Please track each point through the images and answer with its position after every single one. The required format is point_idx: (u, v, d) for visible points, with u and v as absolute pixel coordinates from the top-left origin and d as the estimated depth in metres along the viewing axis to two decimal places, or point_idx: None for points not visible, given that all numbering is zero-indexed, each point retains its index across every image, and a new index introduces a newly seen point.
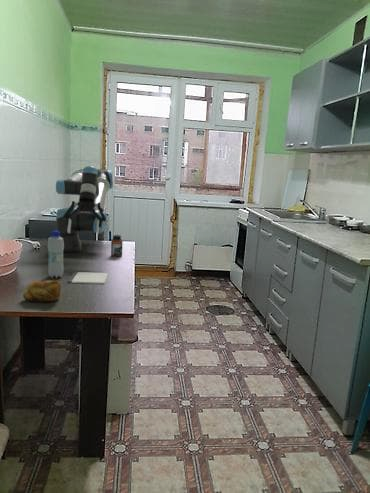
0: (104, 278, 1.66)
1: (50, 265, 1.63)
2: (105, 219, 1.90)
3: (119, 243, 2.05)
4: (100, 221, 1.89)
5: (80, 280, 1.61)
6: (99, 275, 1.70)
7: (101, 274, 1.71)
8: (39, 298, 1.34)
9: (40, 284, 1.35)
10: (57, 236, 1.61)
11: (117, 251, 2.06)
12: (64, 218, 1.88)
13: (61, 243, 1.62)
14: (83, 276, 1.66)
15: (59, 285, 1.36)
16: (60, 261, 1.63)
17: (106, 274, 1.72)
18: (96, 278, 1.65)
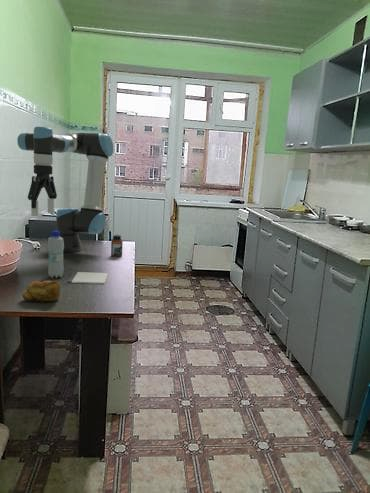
0: (104, 278, 1.66)
1: (50, 265, 1.63)
2: (30, 198, 1.57)
3: (119, 243, 2.05)
4: None
5: (80, 280, 1.61)
6: (99, 275, 1.70)
7: (101, 274, 1.71)
8: (38, 298, 1.34)
9: (39, 284, 1.35)
10: (57, 236, 1.61)
11: (117, 251, 2.06)
12: None
13: (61, 243, 1.62)
14: (83, 276, 1.66)
15: (58, 285, 1.36)
16: (60, 261, 1.63)
17: (106, 274, 1.72)
18: (96, 278, 1.65)
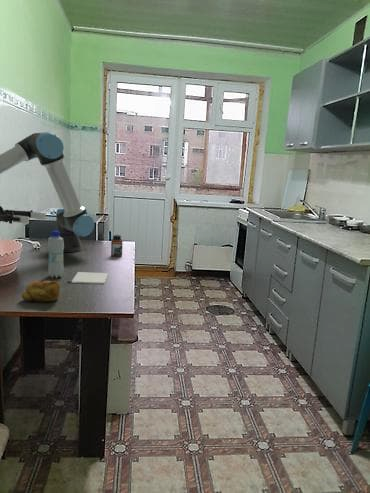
0: (104, 278, 1.66)
1: (50, 265, 1.63)
2: (6, 219, 1.54)
3: (119, 243, 2.05)
4: (13, 220, 1.56)
5: (80, 280, 1.61)
6: (99, 275, 1.70)
7: (101, 274, 1.71)
8: (37, 298, 1.34)
9: (39, 284, 1.35)
10: (57, 236, 1.61)
11: (117, 251, 2.06)
12: None
13: (61, 243, 1.62)
14: (83, 276, 1.66)
15: (58, 285, 1.36)
16: (60, 261, 1.63)
17: (106, 274, 1.72)
18: (96, 278, 1.65)
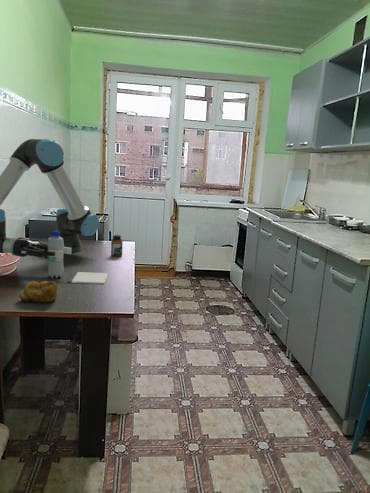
0: (104, 278, 1.66)
1: (50, 265, 1.63)
2: (41, 254, 1.58)
3: (119, 243, 2.05)
4: None
5: (80, 280, 1.61)
6: (99, 275, 1.70)
7: (101, 274, 1.71)
8: (34, 299, 1.33)
9: (36, 285, 1.34)
10: (57, 236, 1.61)
11: (117, 251, 2.06)
12: None
13: (61, 243, 1.62)
14: (83, 276, 1.66)
15: (55, 286, 1.35)
16: (60, 261, 1.63)
17: (106, 274, 1.72)
18: (96, 278, 1.65)
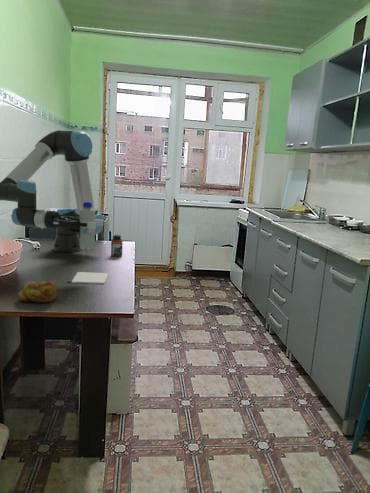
0: (104, 278, 1.66)
1: (82, 237, 1.61)
2: (74, 225, 1.56)
3: (119, 243, 2.05)
4: None
5: (80, 280, 1.61)
6: (99, 275, 1.70)
7: (101, 274, 1.71)
8: (32, 299, 1.33)
9: (34, 285, 1.34)
10: (89, 207, 1.59)
11: (117, 251, 2.06)
12: None
13: (93, 214, 1.60)
14: (83, 276, 1.66)
15: (53, 286, 1.35)
16: (92, 233, 1.61)
17: (106, 274, 1.72)
18: (96, 278, 1.65)
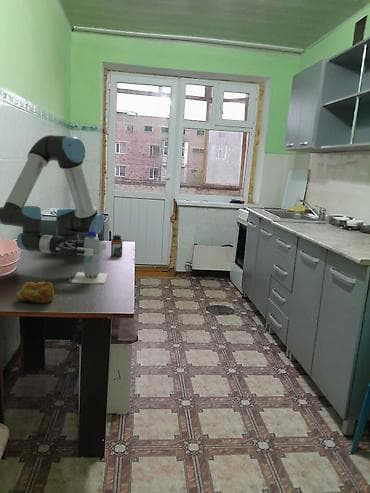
0: (104, 278, 1.66)
1: (86, 265, 1.64)
2: (71, 252, 1.56)
3: (119, 243, 2.05)
4: None
5: (80, 280, 1.61)
6: (99, 275, 1.70)
7: (101, 274, 1.71)
8: (30, 299, 1.33)
9: (32, 285, 1.34)
10: (93, 236, 1.63)
11: (117, 251, 2.06)
12: None
13: (97, 243, 1.63)
14: (83, 276, 1.66)
15: (51, 287, 1.34)
16: (96, 261, 1.64)
17: (106, 274, 1.72)
18: (96, 278, 1.65)
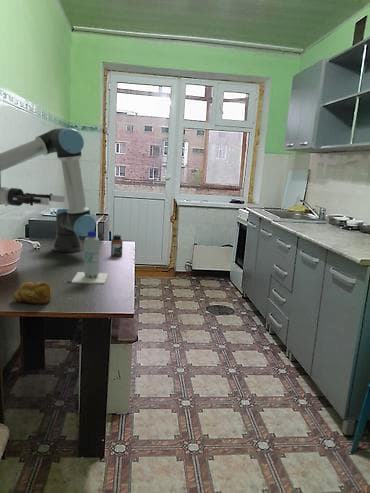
0: (104, 278, 1.66)
1: (86, 265, 1.64)
2: (27, 201, 1.57)
3: (119, 243, 2.05)
4: None
5: (80, 280, 1.61)
6: (99, 275, 1.70)
7: (101, 274, 1.71)
8: (27, 300, 1.32)
9: (29, 285, 1.33)
10: (94, 236, 1.63)
11: (117, 251, 2.06)
12: None
13: (97, 243, 1.63)
14: (83, 276, 1.66)
15: (48, 287, 1.33)
16: (96, 261, 1.64)
17: (106, 274, 1.72)
18: (96, 278, 1.65)
